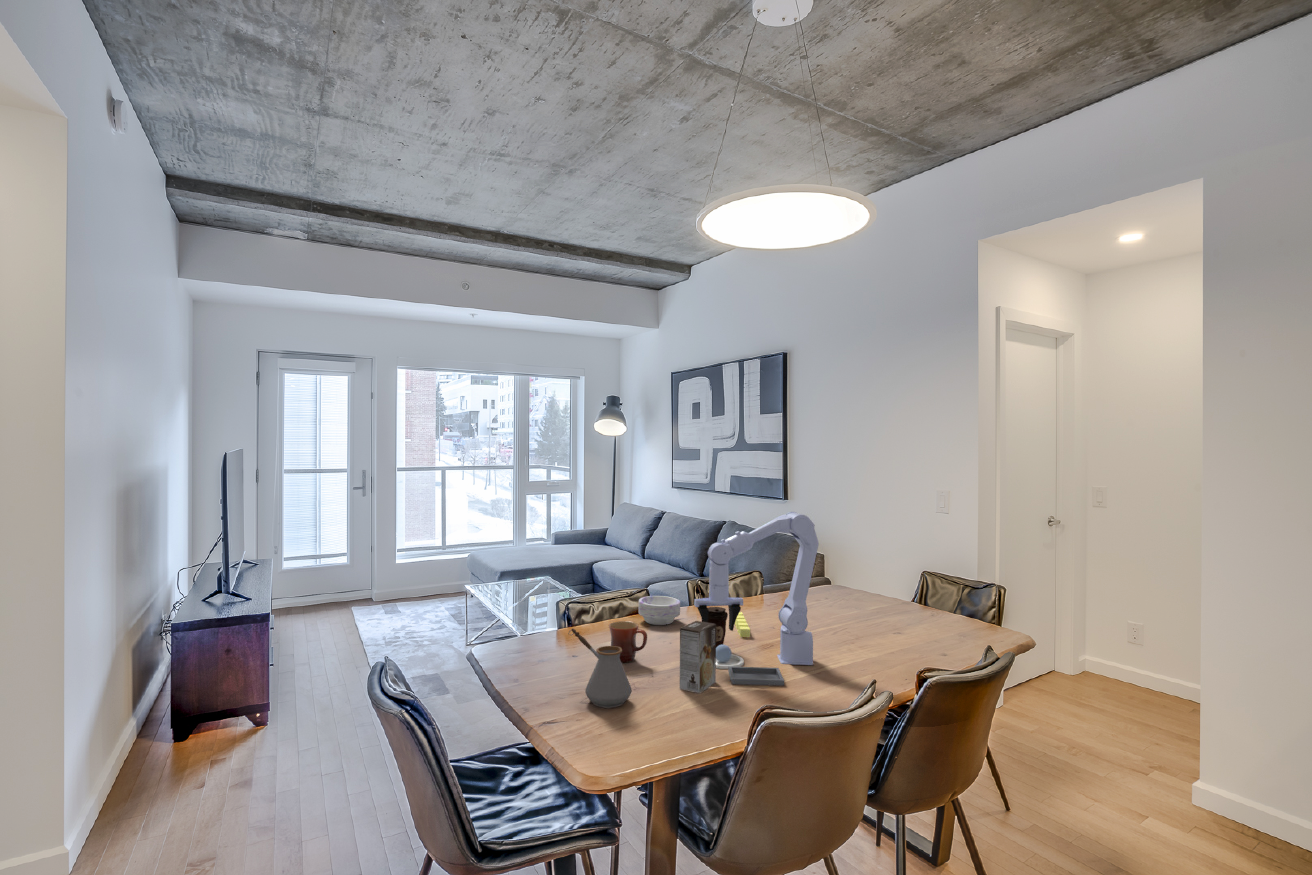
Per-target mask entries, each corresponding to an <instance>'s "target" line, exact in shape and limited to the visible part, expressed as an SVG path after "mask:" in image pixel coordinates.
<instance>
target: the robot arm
mask: <svg viewBox="0 0 1312 875" xmlns="http://www.w3.org/2000/svg"><path fill="white" fill-rule="evenodd" d="M734 533H735V534H734V535H732V536H730V537H728V538H726V539H725V538H722V539H721V540H720V542H714V543H712V544H710V547H709V548H708V550H707V552H706V553H707V556H708V558H709V559H710V560H709V572H708V573H709V576H708V580H709V582H708V583H709V584H708V588H709V589H708V590H709V591H708V592H709V594H708V595H709V596H708V597H703V598H694V599H693V600H694V601H693V602H694V603H693V604H694V605H693V606H694V607H695V608H697V611H698V612H699V614H700V615H699V616H700V618H702V619H701V622H702V621H703V622H707V623H708V614H709V610H708V608H709V607H722V606H723V607H724V606H728V629H729V631H732V632H733V631H734V628H735V621H736V618H737V616H738V614H739V612H741V610H742V607H741V606H744V598H742V597H729V594H730V593H729V588H730V586H729V585H730V584H729V582H730V581H729V580H730V578H729V577H730V576H729V574H730V572H729V571H730V570H729V562H731V559H733V558H735V557H737V556H739V555H741V554H744V553H745V552H747V551H749V550H752V548H753V546H754V544H755V543H756V542H759V541H761V540H763V539H766V538H768V537H770V536H773V535H775V534H777V533H781V534H783V533H784V534H791V535H792V537H794V539H795V540H796V542H797V543H798V545H799V547H798V548H799V549H798V552H797V558H796V562H795V566H794V570H793V576H792V579H791V582H790V589H789V592H788V596H787V597H786V598H785V600H784V602H783V606H781V608H780V609H779V611H778V621H780V624H781V626H780V636H779V637H780V640H779V642H780V645H779V652H780V653H779V654H776V656H777V658H778V660H779V662H780V664H782V665H794V666H795V665H797V666H798V665H799V666H800V665H801V666H802V665H803V666H813V665H814V638H813V637H814V636H813V633H812V631H809V630H808V631H807V630H806V629H807V627H808V625H809V624H808V623H809V622H808V617H807V616H808V615H807V614H808V606H807V596H808V593H809V590H810V584H811V580H812V575H813V570H814V567H815V562H816V558H817V554H818V550H819V549H818V548H819V545H820V544H819V540H818V537H817V532H816V530H815V523H814V522H813V521H812V519H811V518H810V517H809V516H807V515H805V514H801V513H798V512H795V511H789V512H786V514H781V515H779V516H777V517H775V518H773V519H772V520H770V521H769V522H766V523H765V524H763V525H760V526H759V527H756V528H755V529H753V530H751V531H750V532H746V531H743V530H742V531H740V530H737V531H735V532H734Z"/></svg>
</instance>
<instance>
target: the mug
mask: <svg viewBox="0 0 1312 875" xmlns="http://www.w3.org/2000/svg"><path fill="white" fill-rule="evenodd" d="M608 628H609V632H610V646H617V647H620V648H621V649H622V652H621V653H620V657H619V658H620V661H621V663H622V664H625V663H626V664H627V663H631V662H633V661H634V660H635V659H636V653H637V652H639V651H642V650H643V649H644V648H645V647H646V645H647V642H648V633H647V631H646V630H644V629H639V624H638V623H636V622H633V621H627V620H626V621H623V620H622V621H615V622H611V623H609V624H608ZM637 634H642V637H643V638H642V644H641V645H640V646H637V643H636V642H637V640H636V639H637Z"/></svg>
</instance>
